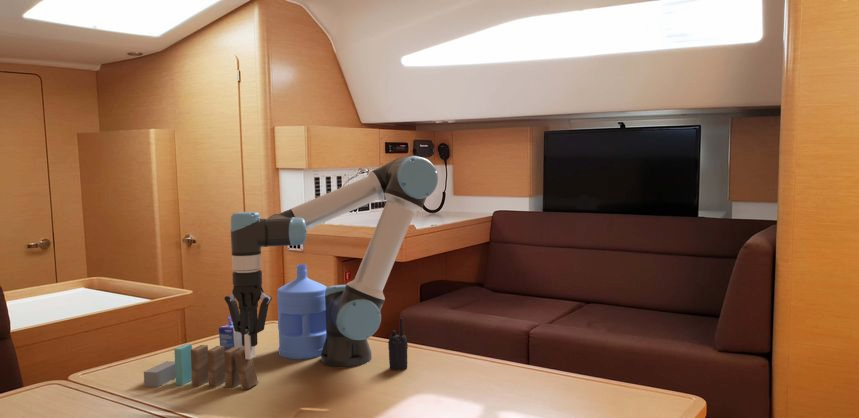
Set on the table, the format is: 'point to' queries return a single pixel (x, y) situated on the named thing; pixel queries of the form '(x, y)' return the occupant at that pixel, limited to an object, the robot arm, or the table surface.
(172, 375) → the block
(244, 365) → the domino
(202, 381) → the domino
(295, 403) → the table surface
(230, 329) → the ink cartridge box
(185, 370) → the teal domino
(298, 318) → the water jug
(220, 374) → the domino
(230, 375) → the domino
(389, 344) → the two-way radio
